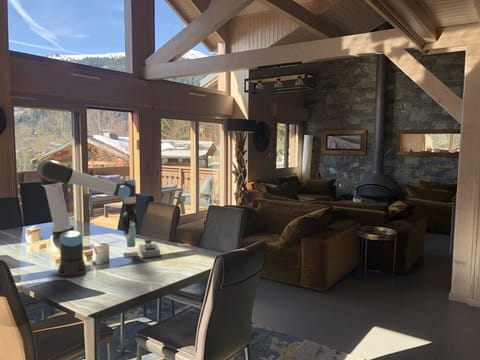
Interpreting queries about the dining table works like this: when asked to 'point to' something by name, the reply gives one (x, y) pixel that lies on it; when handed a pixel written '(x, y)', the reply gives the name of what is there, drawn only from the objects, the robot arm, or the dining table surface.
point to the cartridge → (131, 235)
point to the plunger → (148, 242)
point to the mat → (131, 254)
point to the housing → (149, 251)
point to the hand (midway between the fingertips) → (130, 237)
